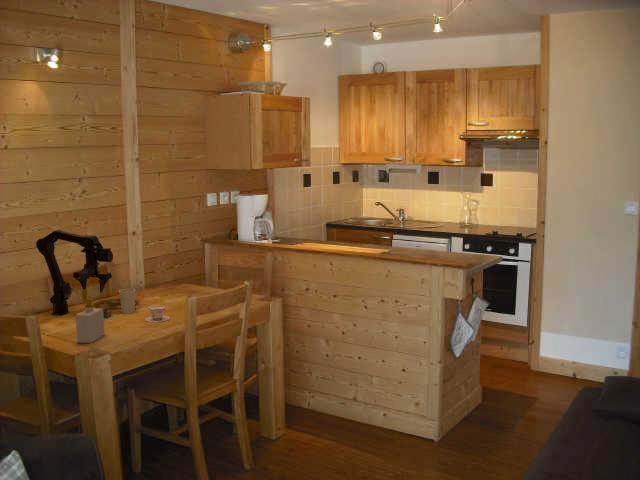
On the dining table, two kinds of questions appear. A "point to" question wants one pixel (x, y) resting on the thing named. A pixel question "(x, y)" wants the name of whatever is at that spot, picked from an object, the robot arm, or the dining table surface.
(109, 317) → the board
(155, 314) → the teacup
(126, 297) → the cup
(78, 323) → the soap bottle
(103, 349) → the dining table surface
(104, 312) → the rail
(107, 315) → the bracket far
